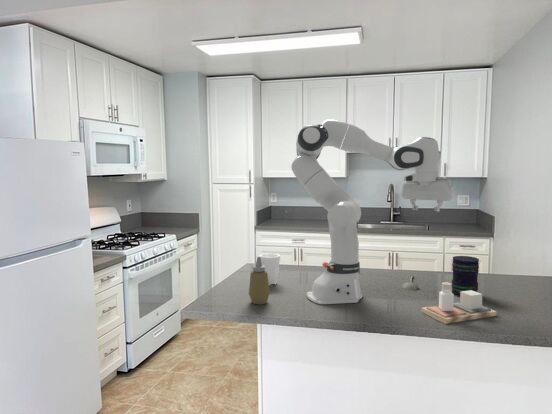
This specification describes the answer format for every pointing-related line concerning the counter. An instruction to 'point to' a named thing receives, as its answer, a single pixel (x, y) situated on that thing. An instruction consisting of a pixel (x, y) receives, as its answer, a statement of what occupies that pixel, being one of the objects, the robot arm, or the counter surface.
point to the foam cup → (271, 266)
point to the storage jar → (464, 274)
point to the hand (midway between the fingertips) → (425, 210)
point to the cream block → (471, 299)
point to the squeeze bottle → (259, 284)
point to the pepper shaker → (446, 297)
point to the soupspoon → (410, 285)
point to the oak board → (458, 313)
